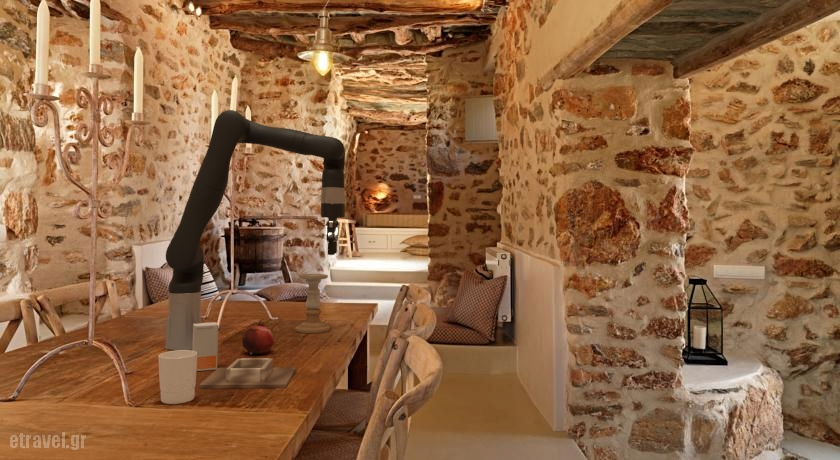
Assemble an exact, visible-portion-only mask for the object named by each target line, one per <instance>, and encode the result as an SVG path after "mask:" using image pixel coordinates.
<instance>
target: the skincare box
mask: <svg viewBox="0 0 840 460" xmlns="http://www.w3.org/2000/svg"><path fill="white" fill-rule="evenodd" d="M218 348H219V324H218V323H217V322H215V321H214V322H201V323H198V324H193V343H192V349H191V351H196V352H197V353H198V355H197V372H202V371H203V372H204V371H213V370H214V371H215V370H216V369H218V358H219V357H218V350H219V349H218Z"/></svg>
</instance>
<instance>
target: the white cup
mask: <svg viewBox="0 0 840 460" xmlns="http://www.w3.org/2000/svg"><path fill="white" fill-rule="evenodd" d="M197 355H198V353H197V352H196V351H192V349H191V350H170V351H169V350H168V351H165V352H161V353H160V354H158V355H157V356H158V374H159V375H158V377H159V378H158V379H159V389H160V402H161V403H163V404H167V405H179V404H185V403H188V402H191V401H192V400H194V399H195V391H196V390H195V389H196V385H197V384H196V382H197V381H196V380H197V372H198V371H197Z"/></svg>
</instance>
